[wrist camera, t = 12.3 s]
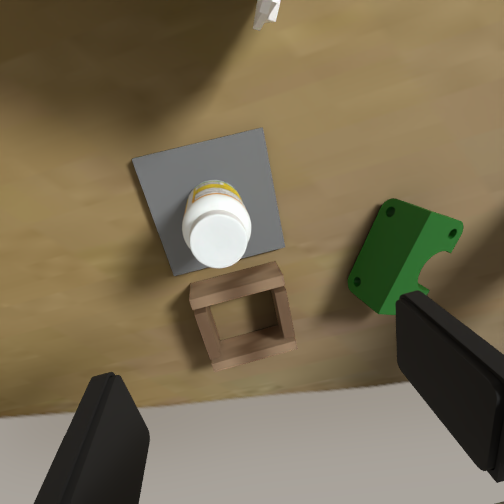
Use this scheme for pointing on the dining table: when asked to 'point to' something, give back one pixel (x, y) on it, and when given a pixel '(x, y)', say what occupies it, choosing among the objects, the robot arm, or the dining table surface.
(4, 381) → the dining table surface
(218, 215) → the supplement bottle
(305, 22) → the dining table surface
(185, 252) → the rubber mat
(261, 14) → the white origami shape
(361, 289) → the clamp
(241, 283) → the frame
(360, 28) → the dining table surface
